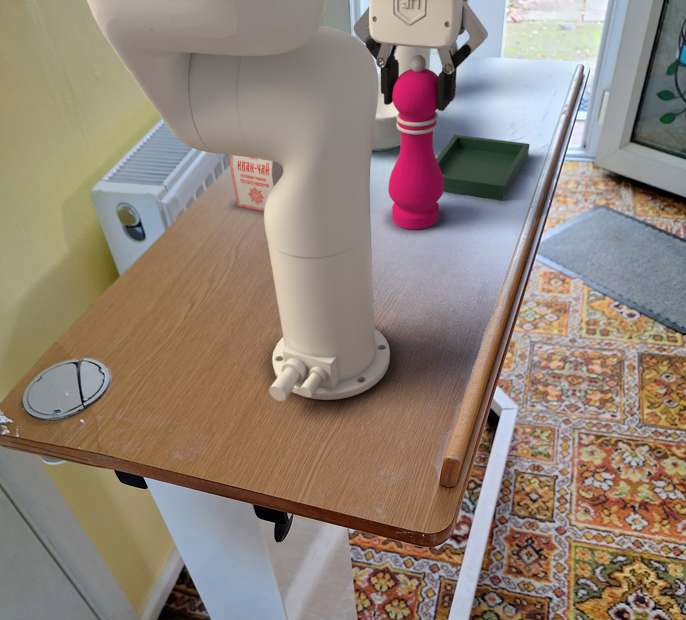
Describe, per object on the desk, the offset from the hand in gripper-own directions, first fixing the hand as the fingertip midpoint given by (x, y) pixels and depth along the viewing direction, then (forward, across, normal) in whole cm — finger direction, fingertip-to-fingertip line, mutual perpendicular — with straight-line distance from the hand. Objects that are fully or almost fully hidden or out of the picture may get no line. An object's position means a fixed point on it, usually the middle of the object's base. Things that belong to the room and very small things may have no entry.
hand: (417, 101), depth 80 cm
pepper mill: (+15, 0, 0) cm, 15 cm away
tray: (+15, +4, +15) cm, 22 cm away
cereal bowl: (+15, -14, +21) cm, 29 cm away
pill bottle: (+15, -16, +38) cm, 44 cm away
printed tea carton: (+15, -22, -3) cm, 27 cm away
